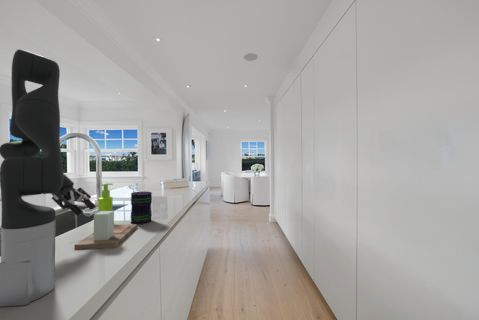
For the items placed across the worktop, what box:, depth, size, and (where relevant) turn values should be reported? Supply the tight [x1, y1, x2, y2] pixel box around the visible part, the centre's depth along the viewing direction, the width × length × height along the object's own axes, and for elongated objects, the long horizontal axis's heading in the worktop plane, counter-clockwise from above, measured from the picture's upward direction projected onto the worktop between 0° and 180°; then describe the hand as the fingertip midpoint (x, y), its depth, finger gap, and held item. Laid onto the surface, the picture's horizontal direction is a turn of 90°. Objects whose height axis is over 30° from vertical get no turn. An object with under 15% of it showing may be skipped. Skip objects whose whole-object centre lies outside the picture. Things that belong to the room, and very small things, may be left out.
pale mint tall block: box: [93, 210, 115, 241], centre depth 81 cm, size 5×5×10 cm
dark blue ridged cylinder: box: [130, 191, 153, 226], centre depth 107 cm, size 10×10×15 cm
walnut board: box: [73, 223, 138, 250], centre depth 86 cm, size 22×14×2 cm, turn 8°
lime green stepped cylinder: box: [97, 182, 114, 213], centre depth 102 cm, size 6×7×20 cm
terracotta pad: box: [114, 226, 129, 233], centre depth 90 cm, size 9×9×1 cm
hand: (87, 210), depth 80 cm, fingers open, 8 cm apart
